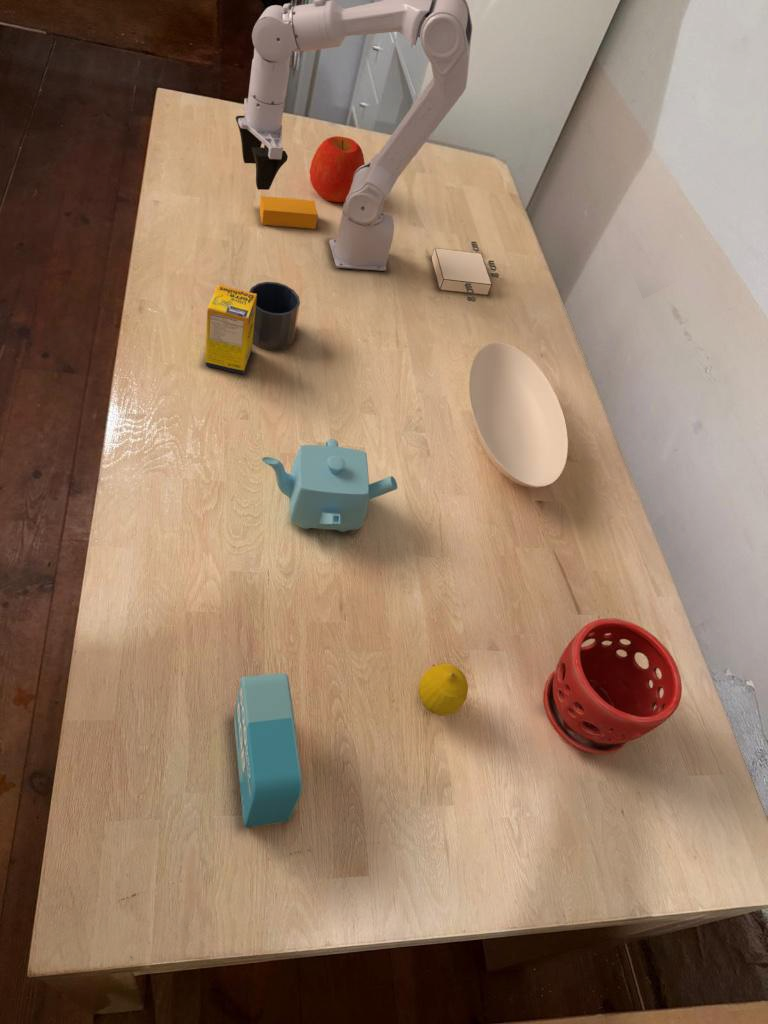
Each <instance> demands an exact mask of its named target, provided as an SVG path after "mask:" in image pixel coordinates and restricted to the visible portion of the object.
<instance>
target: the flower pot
mask: <svg viewBox="0 0 768 1024" xmlns="http://www.w3.org/2000/svg"><path fill="white" fill-rule="evenodd" d="M590 640H594V641H593V642H592V643H589V644H588V645H584V646H582V645H583V644H584V643H585V642H586V641H590ZM622 640H626V641H628V642H630V643H629V644H624V643H622V642H621V641H622ZM604 642H610V644H605V643H604ZM603 643H604V644H603ZM618 651H623V652H625V653H626V654H627V655H626V656H625V655H624V656H622V655H619V653H618ZM637 653H639V654H641V655H643V656H644V657H645V658H646V659H647V661H648V662H647V663H648V666H647V667H646V668H643V667H642V666H641V665H640V664H639V663H638V662H637V660H636V654H637ZM657 669H658V670H659V672H660V678H659V676H658V674H657ZM650 681H651V683H652V686H651V684H650ZM682 685H683V684H682V678H681V674H680V671H679V668H678V666H677V663H676V661H675V659H674V657H673V656H672V654H671V653H670V651H669V650H668V648H667V647H666V646H665V645H664V644H663V643H662V642H661V640H659V639H658V638H657V637H656V636H655V635H654V634H652V633H651V632H650V631H648V630H647V629H645V628H643V627H642V626H639V625H638V624H636V623H633V622H630V621H628V620H624V619H619V618H601V619H596V620H593V621H590V622H589V623H587V624H585V625H584V626H583V627H582V628H581V629H580V630H579V631H578V632H577V633H576V634H575V636H574V637H572V639H571V641H570V642H569V643H568V644H567V645H566V647H565V648H564V650H563V651H562V654H561V655H560V657H559V660H558V661H557V663H556V667H555V670H553V671H552V673H550V675H549V676H548V679H546V681H545V684H544V688H543V696H542V697H543V698H542V699H543V708H544V711H545V714H546V717H547V720H548V721H549V723H550V725H551V727H552V728H553V729H554V730H555V732H556V733H557V734H558V736H559V737H561V738H562V739H563V740H564V741H565V742H566V743H567V744H569V745H570V746H571V747H573V748H574V749H577V750H578V751H582V752H584V753H588V754H593V755H608V754H612V753H615V752H617V751H620V750H621V749H622V748H623V747H625V746H626V745H627V744H628V742H632V741H634V740H637V739H639V738H641V737H644V736H645V735H647V734H648V733H650V732H652V731H654V730H655V729H657V728H659V727H660V726H661V725H663V724H664V723H665V722H666V721H668V719H670V718H671V717H672V716H673V715H674V713H675V712H676V711H677V710H678V707H679V705H680V703H681V699H682V692H683V686H682ZM661 689H662V691H663V692H662V693H663V694H662V696H661Z"/></svg>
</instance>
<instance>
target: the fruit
mask: <svg viewBox="0 0 768 1024" xmlns="http://www.w3.org/2000/svg"><path fill="white" fill-rule="evenodd" d="M468 691H469V684H468V681H467V677H466V675H465V674H464V672H463V671H462V670H461V669H460V668H459V667H457V666H455V665H453V664H451V663H439V664H436V665H433V666H431V667H430V668H428V669H427V670H426V671H425V672H424V673H423V674H422V676H421V678H420V681H419V684H418V698H419V700H420V702H421V704H422V706H423V707H424V708H425V709H426V710H427V711H429V713H432V714H433V715H434V714H435V715H436V716H449V715H452V714H454V713H457V712H458V711H459V710H460V709H461V708H462V707H463V705H464V704H465V702H466V700H467V698H468V693H469V692H468Z"/></svg>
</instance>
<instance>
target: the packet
mask: <svg viewBox="0 0 768 1024" xmlns="http://www.w3.org/2000/svg"><path fill="white" fill-rule="evenodd" d="M259 201H260V202H259V216H260V222H261V225H264V226H273V227H274V226H275V227H287V228H299V229H300V228H301V229H313V230H315V229H316V226H317V221H318V210H317V207H316V203H315V200H312V199H311V200H310V199H299V198H289V197H278V196H267V195H260V200H259Z"/></svg>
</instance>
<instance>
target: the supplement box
mask: <svg viewBox="0 0 768 1024" xmlns="http://www.w3.org/2000/svg"><path fill="white" fill-rule="evenodd" d="M256 299H257V294H255V293H251V292H249V291H246V290H243V289H238V288H235V287H230V286H227V285H223V284H217V285H216V287H215V290H214V293H213V295H212V297H211V299H210V302H209V304H208V307H207V310H206V313H207V314H206V335H205V336H206V337H205V366H206V367H210V368H216V369H219V370H223V371H224V370H225V371H227V372H228V371H229V372H233V373H237V374H242V375H244V374H245V371H246V368H247V365H248V362H249V359H250V356H251V353H252V350H253V343H252V342H253V332H254V321H255V311H256Z"/></svg>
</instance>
